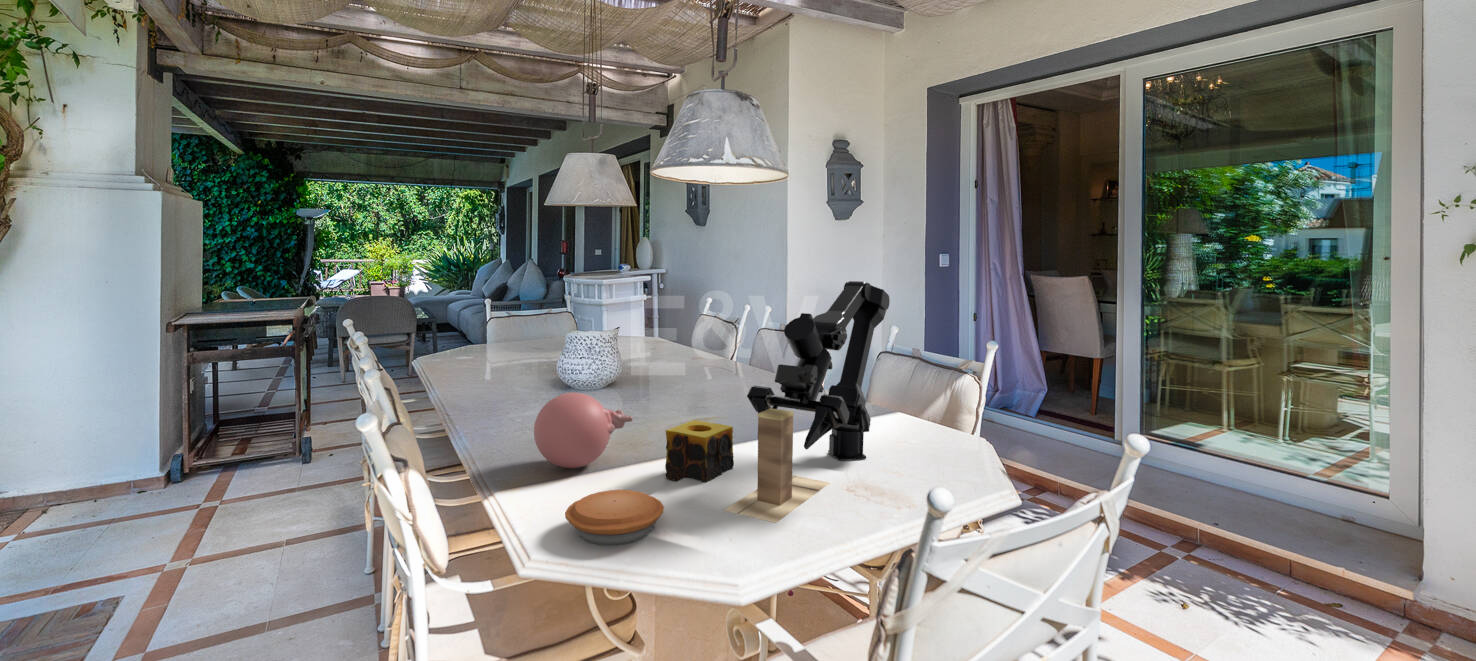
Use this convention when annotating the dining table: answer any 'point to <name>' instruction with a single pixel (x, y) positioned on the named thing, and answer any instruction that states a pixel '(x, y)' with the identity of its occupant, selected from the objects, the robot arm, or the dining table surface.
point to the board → (774, 513)
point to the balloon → (575, 429)
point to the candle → (698, 451)
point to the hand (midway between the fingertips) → (781, 444)
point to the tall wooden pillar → (775, 456)
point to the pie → (614, 516)
